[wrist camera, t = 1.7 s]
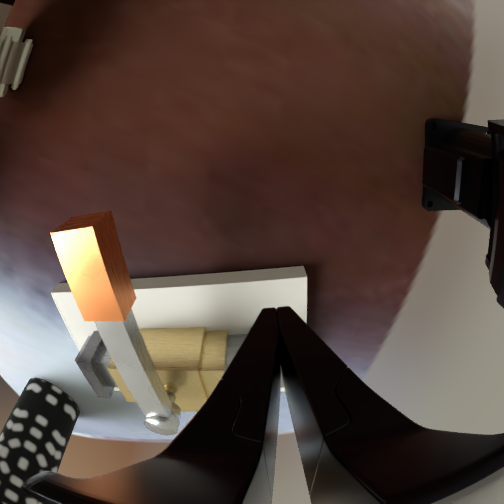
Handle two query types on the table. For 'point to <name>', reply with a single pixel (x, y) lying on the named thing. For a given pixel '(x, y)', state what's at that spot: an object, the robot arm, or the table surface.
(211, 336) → the valve pipe run
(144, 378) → the valve lever
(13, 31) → the pneumatic valve
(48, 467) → the spotted tube
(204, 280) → the base plate
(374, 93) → the table surface
